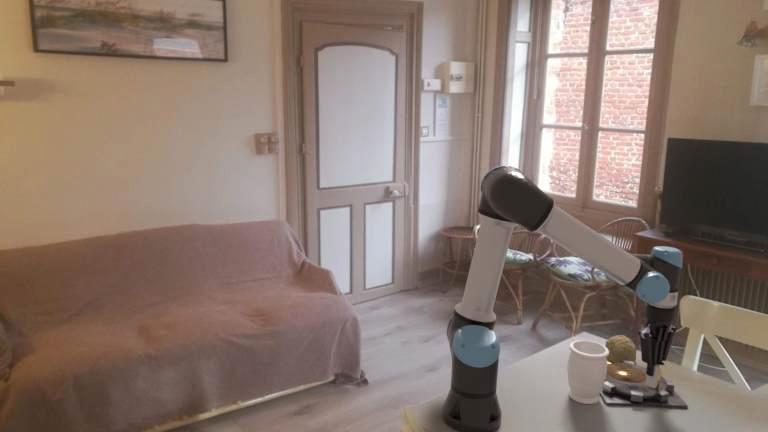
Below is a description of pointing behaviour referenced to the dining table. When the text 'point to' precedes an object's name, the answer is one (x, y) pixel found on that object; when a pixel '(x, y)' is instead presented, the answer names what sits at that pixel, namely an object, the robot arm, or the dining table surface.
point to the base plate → (621, 400)
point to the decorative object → (621, 349)
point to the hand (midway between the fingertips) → (650, 385)
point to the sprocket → (635, 382)
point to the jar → (586, 370)
